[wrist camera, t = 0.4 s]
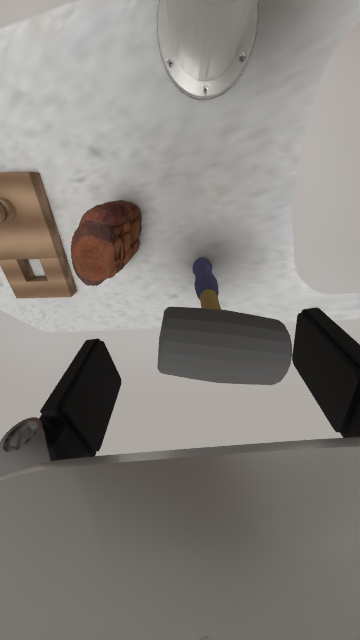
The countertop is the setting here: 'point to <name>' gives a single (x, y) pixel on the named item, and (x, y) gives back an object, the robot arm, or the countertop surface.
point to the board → (32, 240)
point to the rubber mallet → (221, 340)
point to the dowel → (6, 210)
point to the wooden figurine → (105, 241)
